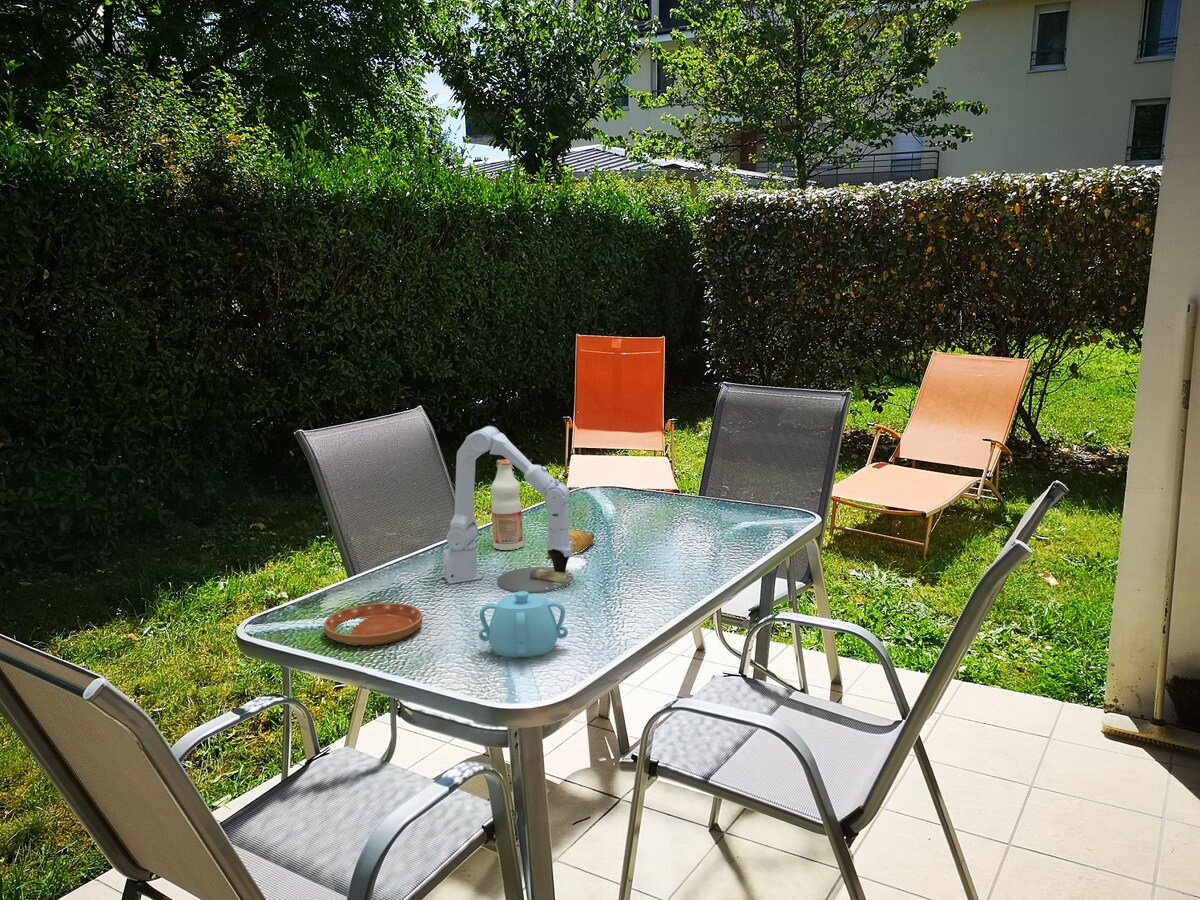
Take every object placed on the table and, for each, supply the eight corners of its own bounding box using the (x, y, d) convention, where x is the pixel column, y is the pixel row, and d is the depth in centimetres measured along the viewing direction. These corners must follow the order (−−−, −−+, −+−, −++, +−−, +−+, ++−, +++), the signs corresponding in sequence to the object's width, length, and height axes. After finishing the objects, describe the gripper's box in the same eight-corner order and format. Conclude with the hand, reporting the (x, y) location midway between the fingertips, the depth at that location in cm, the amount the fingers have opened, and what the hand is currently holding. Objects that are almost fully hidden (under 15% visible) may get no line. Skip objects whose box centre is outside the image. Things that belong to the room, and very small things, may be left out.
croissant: (555, 572, 272) (564, 551, 268) (532, 552, 276) (540, 531, 273) (599, 553, 288) (607, 533, 284) (576, 535, 293) (585, 515, 289)
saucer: (383, 609, 233) (382, 595, 233) (442, 628, 219) (441, 613, 218) (305, 636, 216) (304, 621, 216) (364, 659, 202) (362, 643, 201)
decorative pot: (532, 631, 215) (530, 576, 213) (574, 650, 203) (572, 592, 201) (474, 650, 205) (471, 592, 203) (514, 671, 193) (511, 610, 190)
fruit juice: (487, 547, 287) (482, 461, 282) (510, 541, 293) (506, 456, 288) (505, 553, 280) (501, 464, 275) (529, 547, 286) (525, 460, 281)
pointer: (528, 577, 252) (527, 569, 251) (533, 574, 254) (533, 566, 254) (562, 583, 246) (561, 574, 245) (567, 580, 248) (567, 572, 248)
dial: (510, 597, 239) (509, 594, 239) (488, 575, 258) (488, 572, 258) (584, 586, 247) (583, 583, 247) (557, 565, 266) (557, 562, 266)
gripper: (581, 532, 243) (583, 580, 246) (563, 520, 256) (564, 566, 259) (556, 535, 241) (558, 584, 243) (539, 523, 254) (541, 569, 256)
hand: (560, 575), depth 251 cm, fingers closed
